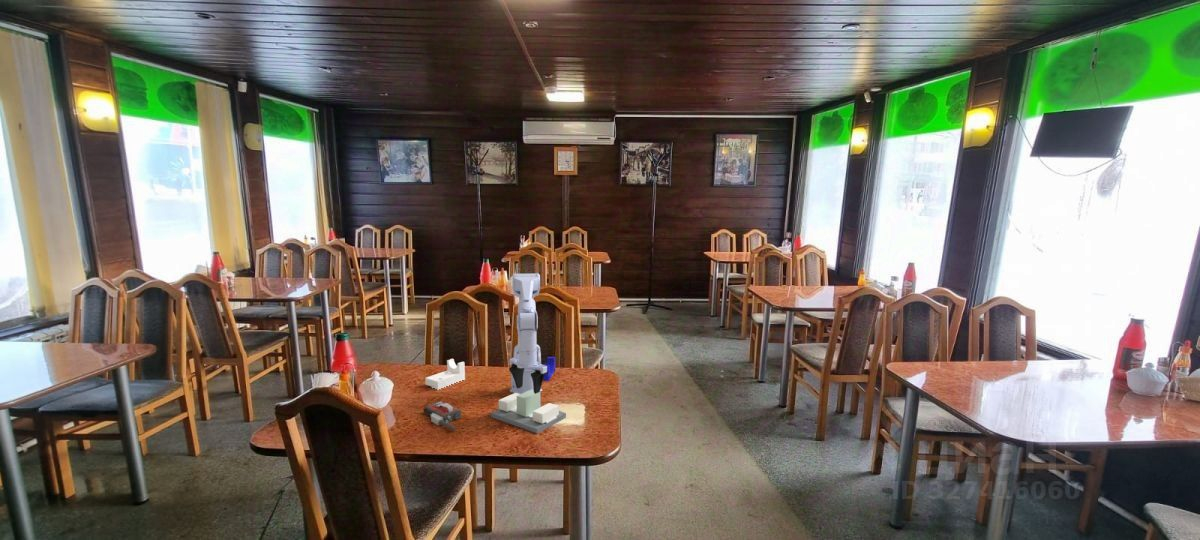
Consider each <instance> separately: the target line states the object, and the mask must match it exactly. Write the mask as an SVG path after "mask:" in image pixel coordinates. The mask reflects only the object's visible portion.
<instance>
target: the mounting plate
mask: <svg viewBox="0 0 1200 540" xmlns="http://www.w3.org/2000/svg"><path fill="white" fill-rule="evenodd" d="M518 395H520V394H518V393H512V394H509V395H507V396H505V397H503V398H500V399H498V409H496V410H494V411H492V412H490V418H492V419H494V420H495V419H496V420H497V421H501V422H503V423H506V424H509V425H513V426H515V427H517V428H521V429H523V430H526V431H529V432H532V433H535V434H539V433H541V432H543V431H544V430H547V429H548V428H550V427H552V426H553V425H555V424H557V423H558V422H560V421H562V420H564V419H566V418H567V413H566V412H564V411H561V410H560V406H559V405H557V404H554V403H550V402H548V403H546V404H544V405H542V404H541V407H540V408H538V409H536V410H534V411H533V413H532V414H531V415H529V416H527V417H525V416H522V415H519V414H517V396H518Z"/></svg>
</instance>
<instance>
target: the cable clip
mask: <svg viewBox="0 0 1200 540" xmlns="http://www.w3.org/2000/svg"><path fill="white" fill-rule="evenodd" d="M546 360H547V361H546V363H543V365H545V366H547V374H546V375H545V377H544V379H543V381H544V382H549V381H550V379H551V378H552V377H553V375H554V373H555V372H556V357H555V356H547V358H546ZM552 374H553V375H552Z"/></svg>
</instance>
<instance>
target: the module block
mask: <svg viewBox="0 0 1200 540" xmlns="http://www.w3.org/2000/svg"><path fill="white" fill-rule="evenodd" d="M541 401H542V399H541V392H539V393H537V394H535V393H534V390H532V389H531V390H529V391H526V392H524V393H522V394H520V395H518V396H517V414H519V415H522V416H525V417H527V416H529V415H531V414H532V413H533V411H534V410H536V409H538V408H540V407H541V405H542V404H541Z"/></svg>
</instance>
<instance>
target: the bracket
mask: <svg viewBox="0 0 1200 540" xmlns="http://www.w3.org/2000/svg"><path fill="white" fill-rule="evenodd" d="M465 364H466V363H465V361H461V362H457V364H456V362H455V359H454V358H450V359H447V360H446V367H447V370H444V371H442V372H439V373H436V374H433V375H429V376H427V377H425V379H424V381H425V385H426V386H430V387H431V389H433V388H435V389H434V390H436V389H437V390H436V391H439V389H440V390H442V389H441V388H443V389H445V388H447V387H446V386H448V387H450V386H452V385H451V384H453V385H455V384H454V383H456V382H458V383H460V382H459V381H461V382H463V381H462V380H464V381H465V380H466V371H465V370H466V367H465ZM456 384H457V383H456ZM449 385H450V386H449ZM444 387H445V388H444Z"/></svg>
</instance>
